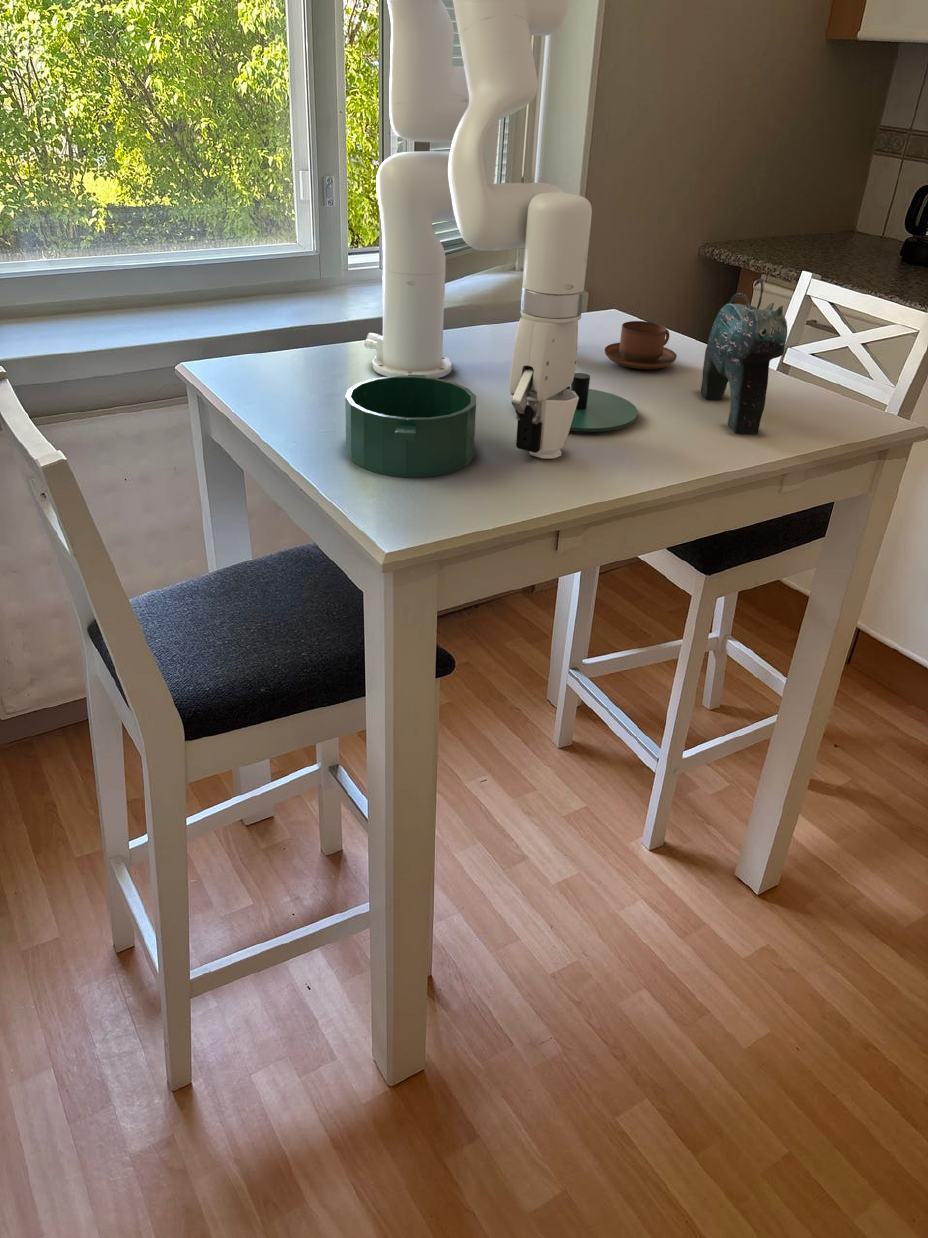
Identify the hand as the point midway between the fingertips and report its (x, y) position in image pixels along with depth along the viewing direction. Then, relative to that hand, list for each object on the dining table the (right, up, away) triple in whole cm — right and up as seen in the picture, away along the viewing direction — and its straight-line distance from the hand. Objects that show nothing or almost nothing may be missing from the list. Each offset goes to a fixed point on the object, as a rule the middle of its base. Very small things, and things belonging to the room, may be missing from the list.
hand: (539, 441), depth 129 cm
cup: (0, -1, +1) cm, 2 cm away
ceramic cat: (+29, +7, +17) cm, 34 cm away
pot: (-17, -2, -2) cm, 17 cm away
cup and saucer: (+20, +19, +36) cm, 45 cm away
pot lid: (+7, +7, +13) cm, 16 cm away
